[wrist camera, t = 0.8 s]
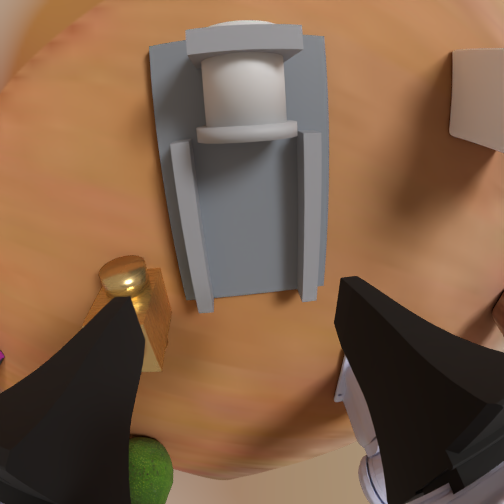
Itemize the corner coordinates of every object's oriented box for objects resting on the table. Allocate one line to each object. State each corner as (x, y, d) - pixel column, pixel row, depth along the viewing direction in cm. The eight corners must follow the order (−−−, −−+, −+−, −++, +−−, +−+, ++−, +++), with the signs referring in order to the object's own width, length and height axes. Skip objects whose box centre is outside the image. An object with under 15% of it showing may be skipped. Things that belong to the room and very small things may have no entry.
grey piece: (321, 281, 22) (344, 326, 17) (187, 295, 21) (180, 346, 17) (320, 38, 14) (356, 17, 9) (151, 48, 13) (124, 28, 9)
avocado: (186, 446, 33) (185, 522, 23) (143, 451, 34) (137, 520, 24) (149, 421, 30) (140, 509, 19) (105, 428, 30) (92, 504, 20)
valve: (175, 325, 23) (166, 394, 17) (130, 327, 22) (111, 393, 16) (156, 250, 19) (132, 314, 13) (104, 255, 19) (67, 316, 13)
